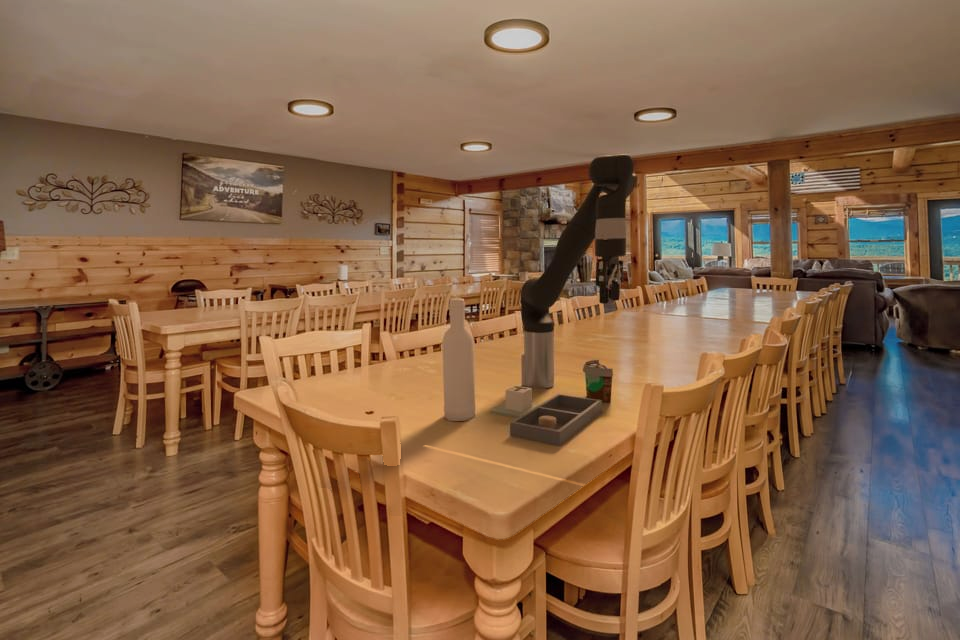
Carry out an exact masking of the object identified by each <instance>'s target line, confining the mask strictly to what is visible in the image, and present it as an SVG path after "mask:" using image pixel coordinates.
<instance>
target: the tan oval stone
mask: <svg viewBox="0 0 960 640" xmlns="http://www.w3.org/2000/svg"><path fill="white" fill-rule="evenodd" d="M539 427H544V428H549V429H555V430H556V418H555V417H553V416H541V417H539Z"/></svg>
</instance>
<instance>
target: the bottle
mask: <svg viewBox="0 0 960 640" xmlns="http://www.w3.org/2000/svg"><path fill="white" fill-rule="evenodd" d="M448 306H449V318H450V319H449V325H450V326H449V328H448V329H447V330H446V331H445V332H444V335H443V338H442V374H443V377H442V378H443V380H442V381H443V403H444V404H443V412H444V419H445V420H447V421H449V420H450V422H455V421H457V422H458V421H463V422H467V421H470V420H472V419H474V418H476V393H475V391H476V389H475V388H476V387H475V386H476V384H475V383H476V382H475V343H474V342H475V341H474V337H473V334H472V332H471V331H470V330H469V329H468V328H467V327H466V319H465V318H466V317H465V316H466V315H465V313H466V312H465V309H466V308H465V307H466V303H465V299H464V298H461V297H459V298H456V297H455V298H451V299H449V304H448Z"/></svg>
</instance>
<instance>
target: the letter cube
mask: <svg viewBox="0 0 960 640" xmlns="http://www.w3.org/2000/svg"><path fill="white" fill-rule="evenodd" d="M505 402H506V409H509V410H514V411H520V412H524V411H526V410H528V409H529V408H531V407H532V403H533V388H529V387H526V386H522V385H521V386H520V385H519V386H518V385H514V386H512V387H510V388H507V389H505Z"/></svg>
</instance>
